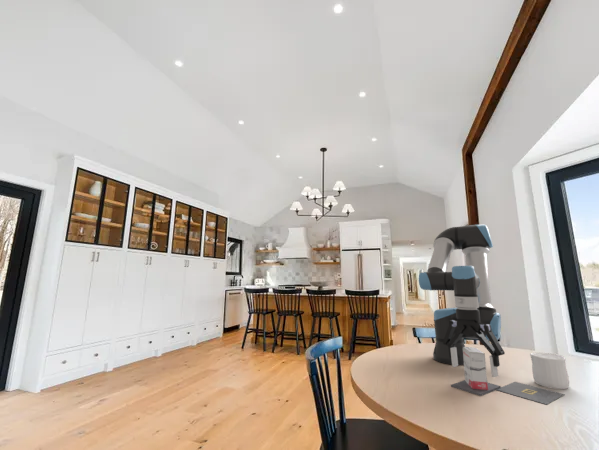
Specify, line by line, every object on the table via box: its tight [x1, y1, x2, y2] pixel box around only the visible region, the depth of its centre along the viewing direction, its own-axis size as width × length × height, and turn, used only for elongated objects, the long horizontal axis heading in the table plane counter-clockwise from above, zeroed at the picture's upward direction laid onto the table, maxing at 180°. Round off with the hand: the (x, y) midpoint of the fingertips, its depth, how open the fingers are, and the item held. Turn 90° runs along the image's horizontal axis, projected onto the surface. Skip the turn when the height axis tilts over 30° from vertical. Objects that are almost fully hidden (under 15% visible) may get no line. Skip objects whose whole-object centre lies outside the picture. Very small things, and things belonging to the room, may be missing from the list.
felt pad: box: [450, 379, 502, 397], centre depth 101 cm, size 10×13×1 cm
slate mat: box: [495, 381, 565, 405], centre depth 96 cm, size 14×14×1 cm
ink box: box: [463, 346, 488, 390], centre depth 102 cm, size 9×5×12 cm, turn 167°
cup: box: [529, 352, 570, 390], centre depth 104 cm, size 10×10×10 cm
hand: (474, 371), depth 102 cm, fingers open, 13 cm apart
